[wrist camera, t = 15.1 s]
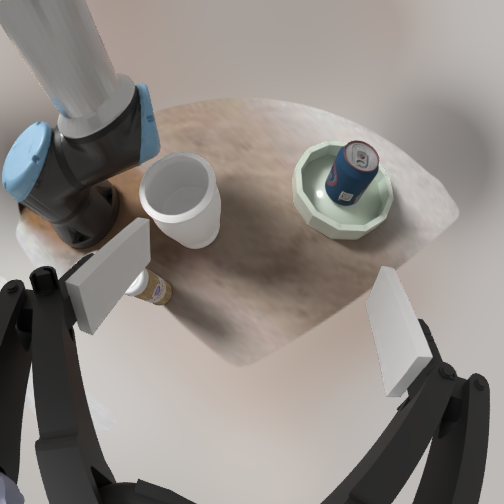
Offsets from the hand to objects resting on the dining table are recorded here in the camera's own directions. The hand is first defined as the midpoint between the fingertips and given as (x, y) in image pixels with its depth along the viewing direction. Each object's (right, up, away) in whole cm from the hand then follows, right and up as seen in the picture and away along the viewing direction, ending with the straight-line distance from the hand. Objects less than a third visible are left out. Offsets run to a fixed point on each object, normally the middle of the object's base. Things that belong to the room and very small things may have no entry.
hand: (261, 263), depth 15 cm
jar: (-10, +5, +34) cm, 36 cm away
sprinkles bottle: (-16, -6, +31) cm, 35 cm away
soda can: (+16, +12, +35) cm, 40 cm away
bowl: (+16, +11, +36) cm, 41 cm away
